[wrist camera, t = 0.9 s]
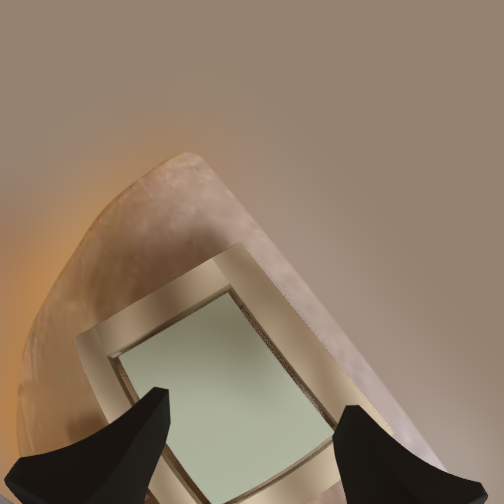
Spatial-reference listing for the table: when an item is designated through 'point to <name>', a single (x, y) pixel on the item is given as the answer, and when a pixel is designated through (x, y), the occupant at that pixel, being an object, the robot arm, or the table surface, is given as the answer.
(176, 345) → the flap
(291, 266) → the table surface
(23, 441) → the table surface
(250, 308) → the stand
